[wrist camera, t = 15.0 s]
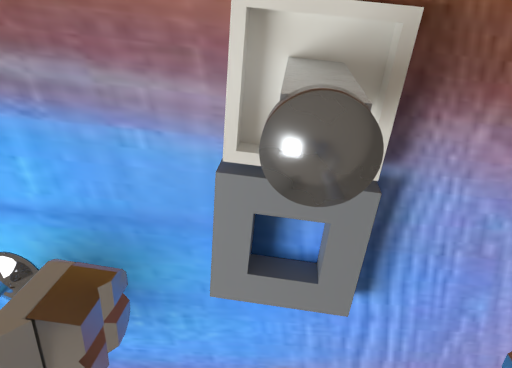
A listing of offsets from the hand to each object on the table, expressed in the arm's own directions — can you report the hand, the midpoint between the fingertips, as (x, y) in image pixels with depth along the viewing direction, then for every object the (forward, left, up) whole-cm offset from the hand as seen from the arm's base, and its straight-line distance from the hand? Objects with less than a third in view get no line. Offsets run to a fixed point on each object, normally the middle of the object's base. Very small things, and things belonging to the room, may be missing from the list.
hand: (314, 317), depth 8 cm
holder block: (-1, +13, -24) cm, 27 cm away
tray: (-1, 0, -24) cm, 24 cm away
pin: (-1, 0, -23) cm, 23 cm away
